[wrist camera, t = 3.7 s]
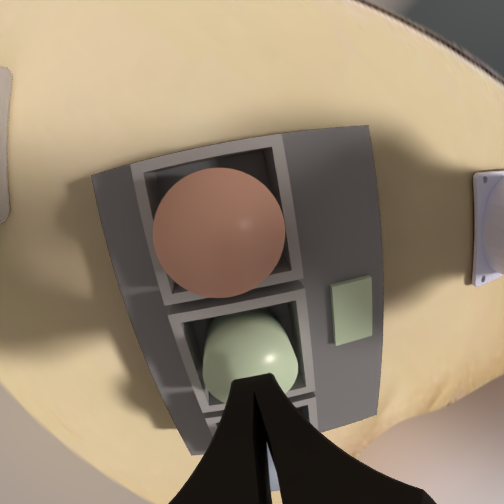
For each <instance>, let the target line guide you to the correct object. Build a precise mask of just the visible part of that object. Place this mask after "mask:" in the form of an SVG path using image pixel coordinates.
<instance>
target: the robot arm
mask: <svg viewBox="0 0 504 504" xmlns="http://www.w3.org/2000/svg"><path fill="white" fill-rule="evenodd" d="M483 178H484V181H483ZM473 186H474V211H475V234H474V260H473V274H472V284H473V285H474V286H476V287H479V286H481V285H484V284H486V283H488V282H491V281H493V280H495V279H498V278H500V277H502V276H504V170H500V171H487V172H477V173H475V174H474V177H473ZM267 444H268V447H269V451H270V454H271V457H272V460H273V463H274V466H275V469H276V472H277V477H278V482H279V487H280V493H281V498H282V503H283V504H436V503H435V502H434V500H433V499H432V498H431V497H430V496H429V495H428V494H427V493H426V492H425V491H424V490H423V489H420V488H417V487H414V486H411V485H408V484H405V483H403V482H400V481H398V480H395V479H393V478H391V477H389V476H386V475H384V474H382V473H380V472H378V471H376V470H374V469H372V468H371V467H369V466H367V465H365V464H364V463H362V462H360V461H359V460H357V459H355V458H354V457H352V456H350V455H349V454H347V453H346V452H345V451H343V450H342V449H340V448H339V447H337V446H336V445H335V444H334V443H332V442H331V441H330V440H329V439H327V438H326V437H325V436H324V435H323V434H321V433H320V432H319V431H318V430H317V429H316V428H315V427H314V426H313V425H312V424H311V423H310V422H309V421H308V420H307V419H306V418H305V417H304V416H303V415H302V414H301V413H300V412H299V411H298V409H297V408H296V407H295V406H294V405H293V404H292V402H291V401H290V400H289V399H288V397H287V396H286V394H285V393H284V392H283V390H282V389H281V387H280V386H279V384H278V382H277V380H276V378H275V376H274V375H273V374H272V373H266V374H261V375H256V376H251V377H246V378H240V379H235V380H233V381H232V382H231V387H230V391H229V395H228V399H227V402H226V405H225V409H224V411H223V414H222V417H221V419H220V422H219V425H218V427H217V429H216V431H215V434H214V436H213V438H212V440H211V442H210V444H209V446H208V448H207V450H206V452H205V454H204V456H203V457H202V459H201V461H200V462H199V464H198V466H197V467H196V469H195V470H194V472H193V473H192V475H191V476H190V477H189V479H188V480H187V482H186V483H185V484H184V486H183V487H182V488H181V490H180V491H179V492H178V493H177V495H176V496H175V497H174V498H173V499H172V500H171V501H170V502H169V504H272V498H271V490H270V477H269V465H268V453H267Z"/></svg>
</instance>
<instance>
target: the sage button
mask: <svg viewBox="0 0 504 504" xmlns="http://www.w3.org/2000/svg"><path fill="white" fill-rule="evenodd" d="M266 373H272V374H273V375H274V376H275V378H276V380H277V382H278V384H279V386H280V387H281V389H282V390H283V392H284V393H285V394H286V393H287V392H288V391H289V390H290V388H291V387H292V386H293V384H294V382H295V380H296V378H297V374H298V362H297V358H296V356H295V353H294V351H293V348H292V346H291V344H290V341H289V339H288V336H287V334H286V331H285V329H284V326H283V324H282V323H281V321H280V320H279V319H278V317H277V316H275V315H274V314H273V313H272V312H270V311H268V310H266V309H264V308H257V309H252V310H247V311H242V312H237V313H232V314H227V315H222V316H217V317H216V318H214V319H213V321H212V322H211V323H210V325H209V326H208V329H207V331H206V334H205V343H204V359H203V379H204V383H205V385H206V387H207V389H208V390H209V392H210V393H211V394H212V395H213V396H214V397H215V398H217V399H218V400H220V401H221V402H223V403H226V402H227V399H228V395H229V391H230V387H231V382H232V381H233V380H235V379H240V378H246V377H251V376H256V375H261V374H266Z"/></svg>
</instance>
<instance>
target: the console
mask: <svg viewBox="0 0 504 504" xmlns="http://www.w3.org/2000/svg"><path fill="white" fill-rule="evenodd" d="M209 168H229V169H235V170H238V171H242V172H244V173H246V174H249V175H251V176H252V177H254V178H256V179H257V180H259V181H260V182H261V183H262V184H264V185H265V186H266V187H267V188H268V190H269V191H270V192H271V193H272V194H273V196H274V197H275V199H276V200H277V202H278V204H279V206H280V209H281V211H282V214H283V218H284V223H285V242H284V248H283V251H282V254H281V257H280V259H279V261H278V263H277V265H276V267H275V268H274V270H273V271H272V272H271V274H270V275H269V276H268V277H267V278H266V279H265V280H264V281H263V282H262V283H260V284H259V285H258V286H256V287H255V288H253V289H251V290H249V291H248V292H245V293H243V294H240V295H237V296H233V297H226V298H212V297H205V296H201V295H198V294H195V293H192V292H190V291H188V290H186V289H184V288H183V287H181V286H180V285H179V284H177V283H176V282H175V281H174V280H173V279H172V278H171V277H170V276H169V275H168V274H167V273H166V272H165V270H164V268H163V267H162V265H161V264H160V262H159V259H158V257H157V255H156V252H155V248H154V243H153V223H154V218H155V214H156V211H157V209H158V206H159V204H160V202H161V201H162V199H163V197H164V196H165V195H166V193H167V192H168V191H169V190H170V189H171V188H172V187H173V185H175V184H176V183H177V182H178V181H180V180H181V179H183V178H184V177H186V176H188V175H190V174H192V173H194V172H197V171H200V170H204V169H209ZM91 176H92V182H93V187H94V192H95V197H96V201H97V206H98V210H99V215H100V219H101V223H102V227H103V231H104V235H105V239H106V243H107V247H108V250H109V254H110V257H111V261H112V264H113V268H114V271H115V275H116V278H117V281H118V284H119V288H120V291H121V294H122V297H123V300H124V303H125V306H126V309H127V312H128V314H129V317H130V320H131V323H132V326H133V328H134V331H135V334H136V336H137V339H138V342H139V344H140V347H141V349H142V352H143V354H144V357H145V359H146V362H147V364H148V367H149V369H150V371H151V374H152V376H153V378H154V381H155V383H156V385H157V387H158V390H159V392H160V394H161V396H162V398H163V400H164V403H165V405H166V407H167V409H168V411H169V413H170V415H171V417H172V419H173V421H174V423H175V425H176V427H177V429H178V431H179V433H180V435H181V437H182V439H183V441H184V443H185V444H186V446H187V448H188V450H189V452H190V454H191V455H202V454H205V452H206V450H207V448H208V446H209V444H210V442H211V440H212V438H213V436H214V434H215V431H216V429H217V427H218V425H219V422H220V419H221V417H222V414H223V411H224V409H225V405H226V403H223V402H221V401H220V400H218V399H217V398H215V397H214V396H213V395H212V394H211V393H210V392H209V390H208V389H207V387H206V385H205V383H204V379H203V359H204V343H205V334H206V331H207V329H208V326H209V325H210V323H211V322H212V321H213V319H214V318H216V317H217V316H222V315H227V314H232V313H237V312H242V311H247V310H252V309H257V308H264V309H266V310H268V311H270V312H272V313H273V314H274V315H275V316H277V317H278V319H279V320H280V321H281V323H282V324H283V326H284V329H285V331H286V334H287V336H288V339H289V341H290V344H291V346H292V348H293V351H294V353H295V356H296V358H297V362H298V374H297V378H296V380H295V382H294V384H293V386H292V387H291V388H290V390H289V391H288V392H287V393H286V396H287V397H288V399H289V400H290V401H291V402H292V404H293V405H294V406H295V407H296V408H297V409H298V411H299V412H300V413H301V414H302V415H303V416H304V417H305V418H306V419H307V420H308V421H309V422H310V423H311V424H312V425H313V426H314V427H315V428H316V429H317V430H318V431H319V432H320V433H321V432H324V431H328V430H331V429H335V428H338V427H341V426H345V425H348V424H351V423H354V422H357V421H360V420H363V419H366V418H369V417H371V416H374V415H377V407H378V398H379V388H380V377H381V363H382V345H383V312H384V287H383V253H382V235H381V221H380V209H379V199H378V189H377V181H376V173H375V165H374V158H373V151H372V145H371V138H370V132H369V127H368V125H365V126H349V127H336V128H325V129H314V130H305V131H296V132H288V133H281V134H273V135H266V136H260V137H253V138H247V139H241V140H235V141H230V142H224V143H219V144H214V145H208V146H203V147H199V148H194V149H189V150H185V151H180V152H176V153H171V154H167V155H163V156H159V157H155V158H151V159H147V160H143V161H139V162H136V163H132V164H128V165H125V166H121V167H118V168H114V169H111V170H108V171H104V172H101V173H98V174H94V175H91Z"/></svg>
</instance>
